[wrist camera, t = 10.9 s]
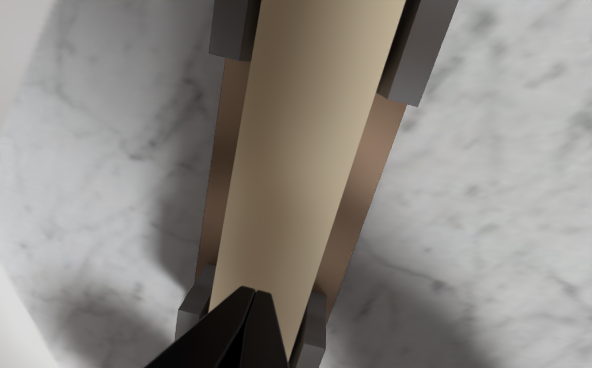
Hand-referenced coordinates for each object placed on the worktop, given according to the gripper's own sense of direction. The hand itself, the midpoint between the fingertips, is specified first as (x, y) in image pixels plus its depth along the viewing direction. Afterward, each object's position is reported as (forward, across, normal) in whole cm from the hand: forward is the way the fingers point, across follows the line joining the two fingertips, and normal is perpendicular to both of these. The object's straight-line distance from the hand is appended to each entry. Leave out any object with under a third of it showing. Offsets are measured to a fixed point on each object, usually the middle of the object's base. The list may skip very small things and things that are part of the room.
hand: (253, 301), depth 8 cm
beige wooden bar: (+8, 0, 0) cm, 8 cm away
